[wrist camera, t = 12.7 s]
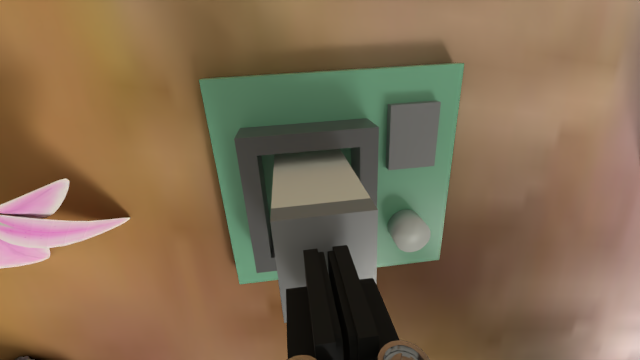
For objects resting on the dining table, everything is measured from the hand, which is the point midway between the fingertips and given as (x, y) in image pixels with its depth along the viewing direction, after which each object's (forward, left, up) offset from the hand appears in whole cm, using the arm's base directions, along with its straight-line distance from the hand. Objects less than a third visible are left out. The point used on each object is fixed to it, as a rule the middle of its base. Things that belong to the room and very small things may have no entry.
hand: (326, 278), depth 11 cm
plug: (0, 0, -9) cm, 9 cm away
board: (-2, 0, -10) cm, 10 cm away
